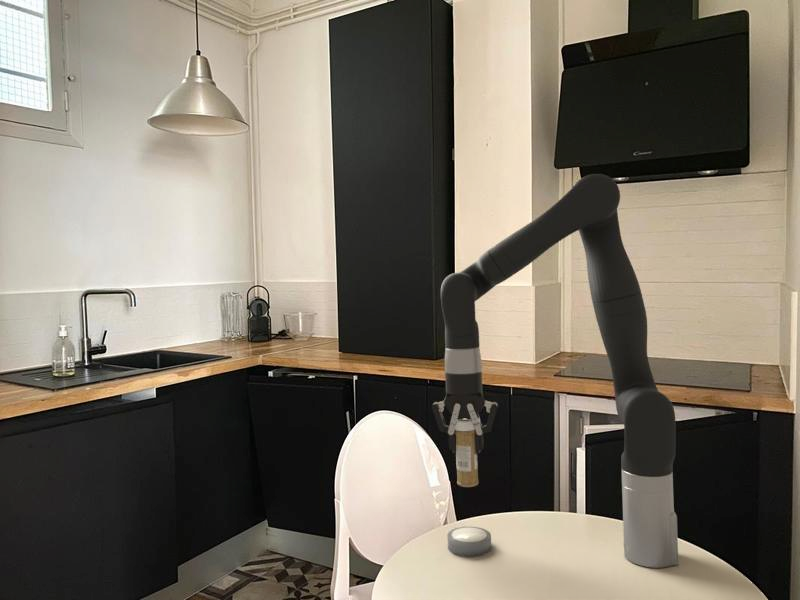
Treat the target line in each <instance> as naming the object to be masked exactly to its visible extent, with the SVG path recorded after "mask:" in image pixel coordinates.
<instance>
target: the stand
mask: <svg viewBox="0 0 800 600" xmlns="http://www.w3.org/2000/svg"><path fill="white" fill-rule="evenodd" d="M446 536H447V549H448V551H449V552H450V553H451V554H454V555H456V556H461V557H467V558H470V557H471V558H473V557H479V556H480V557H481V556H484V555H486V554H488V553H489V552H491V550H492V534H491V532H490V531H488V530H487V529H484V528H482V527H477V526H460V527H455V528H453V529H451V530H450V531H448V533H447V535H446Z"/></svg>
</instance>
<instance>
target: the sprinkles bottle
mask: <svg viewBox="0 0 800 600" xmlns="http://www.w3.org/2000/svg"><path fill="white" fill-rule="evenodd" d="M455 433H456V434H455V435H456V453H455V457H456V458H455V462H456V463H455V464H456V476H457V477H456V478H457V479H456V480H457V481H456V484H457V485H458V486H460V487H463V488H472V487H476V486H478V484H479V482H480V481H479V472H478V469H479V468H478V467H479V466H478V464H479V463H478V453H476V437H475V436H476V430H475V427H474V425H473V422H472V419H465V418H464V419H457V422H456V425H455Z"/></svg>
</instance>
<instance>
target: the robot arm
mask: <svg viewBox="0 0 800 600" xmlns="http://www.w3.org/2000/svg"><path fill="white" fill-rule="evenodd" d="M620 199H621V191H620V188H619V186H618V184H617V182H615V180H614V179H613V178H611V177H610V176H608V175H605V174H601V173H592V174H587V175H585V176H583V177H581V178H580V179H578V181H576V182H575V184H574V185H573V187H572V188H571V189H570V190H568V192H566V193H565V194H564V195H563V196H562V197H561V198H560V199H559V200H558V201H556V203H554V204H553V205H552V206H550V208H549V209H547V210H546V211H545V212H543V213H542V214H541V215H539V216H537V218H535V219H534V220H532V221H531V222H529V223H527V224H526V225H524V226H523V227H521V228H519V229H518V230H516V231H514V233H512V234H510V235H508V236H507V237H505V238H504V239H502V240H501V241H500V242H498V243H496V244H495V245H493V246H492V247H491V248H489V249H488V250H486V251H485V252H484V253H483V254H482V255H481V256H479V257H478V259H477V260H476V261H475V262H473V263H472V264H469V266H467V267H465V268H464V269H463V270H461V271H459V272H453V273H451V274H449V275H447V276H446V277H445V278H444V280H443V281H442V283H441V287H440V301H441V302H440V303H441V310H442V311H441V312H442V316H443V321H444V344H445V345H444V346H445V351H444V374H445V375H444V376H445V377H444V379H445V397H444V400H442V401H434V403H433V404H432V405H431V410H432V413H433V415H434V418H435V421H436V424H437V427H438V430H439V432H441V433H446V434H447V436H448V449H449V450H450V451H451V452H452V453H453V454H456V435H455V434H456V433H455V425H456V422H457V419H464V418H465V419H472V422H473V425H474V427H475V430H476V436H475V437H476V453H477V454H480V453H481V451H483V449H484V435H485V434H486V433H490V432H492V427H493V424H494V420H495V417H496V414H497V410H498V402H496V401H493V402H492V401H488V400H486V399H485V397H484V394H483V374H482V373H483V372H482V369H483V363H482V356H481V350H480V349H481V348H480V330H479V324H478V322H477V320H476V319H477V318H476V301H477V300H479V299H480V298H482V297H483V296H484V295H486V294H487V293H488V292H490V291H491V290H492V289H494V287H496V286H497V285H499V284H501V283H503V282H505V281H506V280H508V279H510V278H511V277H513V276H514V275H516V274H517V273H519V272H520V271H521V270H523V269H525V268H526V267H528V266H529V265H530V264H532V262H534V261H535V260H537V259H538V258H540V256H542V255H543V254H544V253H546V251H548V250H550V248H552V247H554V246H555V245H556V244H558V243H559V242H561V241H562V240H564V239H565V238H567V237H568V236H570V235H572V234H573V233H576V232H577V231H578V233H579V236H580V238H581V242H582V245H583V249H584V252H585V259H586V270H587V277H588V278H587V279H588V285H589V291H590V296H591V297H590V298H591V302H592V307H593V310H594V314H595V315H594V316H595V317H596V318H595V319H596V322H597V325H598V329H599V333H600V337H601V340H602V342H603V343H602V344H603V346H604V349H605V352H606V355H607V358H608V361H609V365H610V370H611V374H612V375H611V376H612V383H613V392H614V400H615V407H616V408H615V409H616V412H617V416H618V418H619V420H620V421H621V422H622V423H623V425H624V428H623V433H624V434H623V435H624V437H623V438H624V447H623V448H624V449H623V452H622V454H621V457H620V458H621V459H620V460H621V461H620V462H621V463H620V464H621V465H620V466H621V495H622V496H621V497H622V523H623V529H622V530H623V551H624V552H623V554H624V557H625V559H626V560H628V561H629V562H630V563H633V564H635V565H639V566H642V567H647V568H656V569H657V568H658V569H659V568H660V569H661V568H668V567H671V566H679V547H678V546H679V545H678V542H679V541H678V516H677V514H676V512H675V507H674V504H675V503H674V477H673V476H674V473H673V472H674V471H673V469H674V467H673V464H674V460H675V458H676V444H677V443H676V442H677V441H676V438H677V437H676V433H677V430H676V429H677V428H676V427H677V426H676V424H677V423H676V411H675V409H674V405H673V403H672V401H671V400H670V399H669V398H668V397H667V396H666V395H665V394H664V393H662V392H660V391H659V390H658V388H657V384H656V383H655V379H654V377H653V373H652V370H651V369H652V368H651V366H650V362H649V358H648V317H647V310H646V307H645V302H644V297H643V294H642V290H641V285H640V284H639V279H638V278H637V275H636V272H635V270H634V267H633V264H632V263H631V261H630V257H629V255H628V253H627V251H626V249H625V246H624V243H623V239H622V235H621V229H620V222H619V216H618V214H619V213H618V208H619V206H620V201H621V200H620ZM444 407H445V408H446V409H447V410H448V411H449V413H450V414H451V417H450V422H449V425H447V424H446V420H445V417H444V415H443V412H444V411H445V410H444V409H445V408H444ZM483 407H486V413H488V416H487V420H486V423H485V424H484V425H483V424H482V422H481V418H480V415H479V413H480V412H481V410H482V409H483Z"/></svg>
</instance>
